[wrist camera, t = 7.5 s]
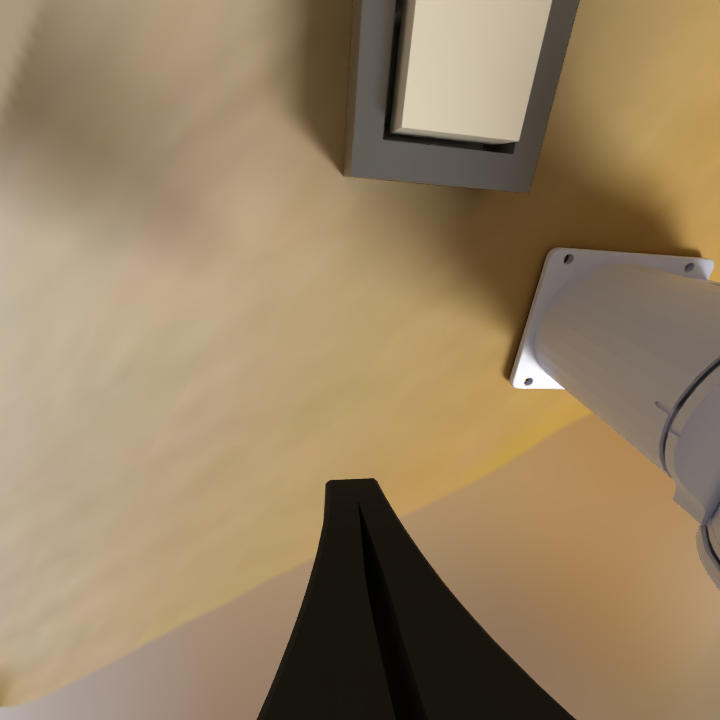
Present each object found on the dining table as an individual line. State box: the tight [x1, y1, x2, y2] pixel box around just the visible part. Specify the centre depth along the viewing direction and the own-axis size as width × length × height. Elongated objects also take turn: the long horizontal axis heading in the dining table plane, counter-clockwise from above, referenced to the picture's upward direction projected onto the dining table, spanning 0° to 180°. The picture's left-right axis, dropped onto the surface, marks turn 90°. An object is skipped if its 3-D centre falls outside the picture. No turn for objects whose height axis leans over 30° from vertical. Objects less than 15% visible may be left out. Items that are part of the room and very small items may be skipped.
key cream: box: [389, 0, 552, 146], centre depth 12 cm, size 4×4×2 cm
